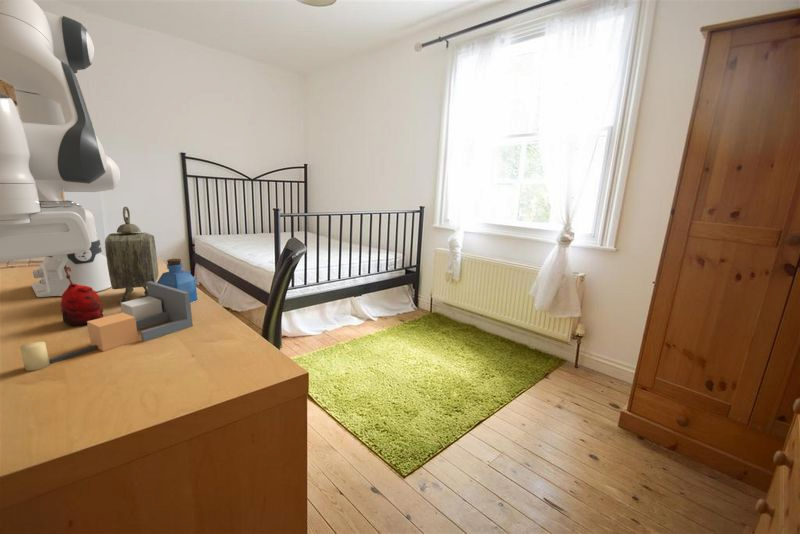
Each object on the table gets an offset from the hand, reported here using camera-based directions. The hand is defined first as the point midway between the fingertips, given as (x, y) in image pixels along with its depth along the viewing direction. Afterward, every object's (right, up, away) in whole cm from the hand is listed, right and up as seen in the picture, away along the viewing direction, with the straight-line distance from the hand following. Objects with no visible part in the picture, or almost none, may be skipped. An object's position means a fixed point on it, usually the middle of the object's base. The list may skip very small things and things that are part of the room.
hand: (17, 286), depth 58 cm
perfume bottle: (+3, -7, +37) cm, 38 cm away
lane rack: (+6, -10, +22) cm, 25 cm away
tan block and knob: (+3, -13, +9) cm, 16 cm away
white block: (+3, -10, +24) cm, 26 cm away
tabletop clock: (-10, -5, +41) cm, 42 cm away
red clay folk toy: (-9, -10, +23) cm, 26 cm away
